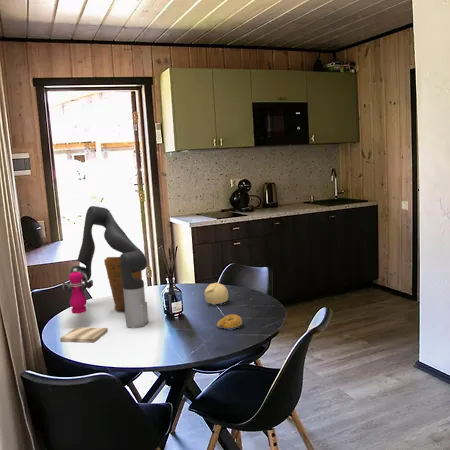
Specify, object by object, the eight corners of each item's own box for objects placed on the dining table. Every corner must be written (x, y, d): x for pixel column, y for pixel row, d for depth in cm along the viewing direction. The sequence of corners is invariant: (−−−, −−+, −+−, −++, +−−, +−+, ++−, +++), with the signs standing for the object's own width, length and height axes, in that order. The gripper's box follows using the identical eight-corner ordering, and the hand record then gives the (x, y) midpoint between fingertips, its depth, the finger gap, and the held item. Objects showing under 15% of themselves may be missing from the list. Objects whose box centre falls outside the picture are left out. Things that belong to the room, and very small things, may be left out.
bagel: (217, 323, 211) (216, 313, 211) (242, 322, 211) (241, 312, 210) (216, 331, 201) (216, 320, 201) (242, 330, 201) (242, 320, 201)
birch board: (107, 331, 208) (107, 328, 208) (94, 342, 195) (93, 338, 195) (76, 330, 211) (75, 327, 211) (60, 341, 198) (60, 338, 198)
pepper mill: (82, 314, 212) (78, 270, 209) (67, 314, 214) (63, 270, 211) (90, 309, 219) (86, 266, 216) (75, 309, 221) (71, 266, 218)
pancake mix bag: (142, 314, 230) (137, 257, 226) (107, 312, 236) (102, 256, 232) (148, 310, 236) (144, 254, 233) (114, 308, 242) (110, 254, 238)
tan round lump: (207, 300, 248) (206, 280, 246) (230, 300, 246) (229, 280, 245) (203, 307, 236) (201, 286, 235) (227, 307, 235) (225, 285, 233)
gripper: (62, 274, 227) (58, 283, 210) (93, 271, 230) (92, 279, 213) (63, 290, 228) (60, 299, 211) (94, 286, 231) (93, 295, 214)
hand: (76, 289), depth 212 cm, fingers closed on pepper mill, 4 cm apart
